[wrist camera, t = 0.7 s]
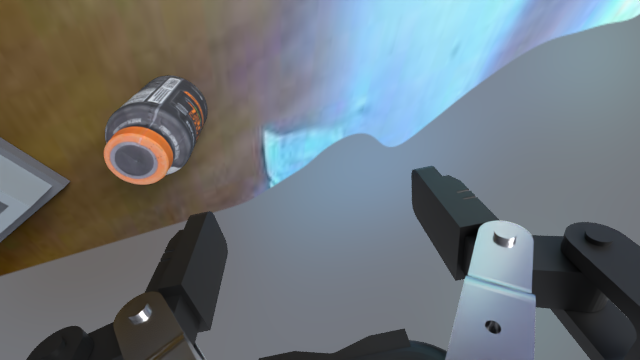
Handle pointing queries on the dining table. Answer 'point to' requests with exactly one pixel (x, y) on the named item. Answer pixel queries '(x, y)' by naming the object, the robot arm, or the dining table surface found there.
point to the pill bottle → (155, 130)
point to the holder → (23, 187)
